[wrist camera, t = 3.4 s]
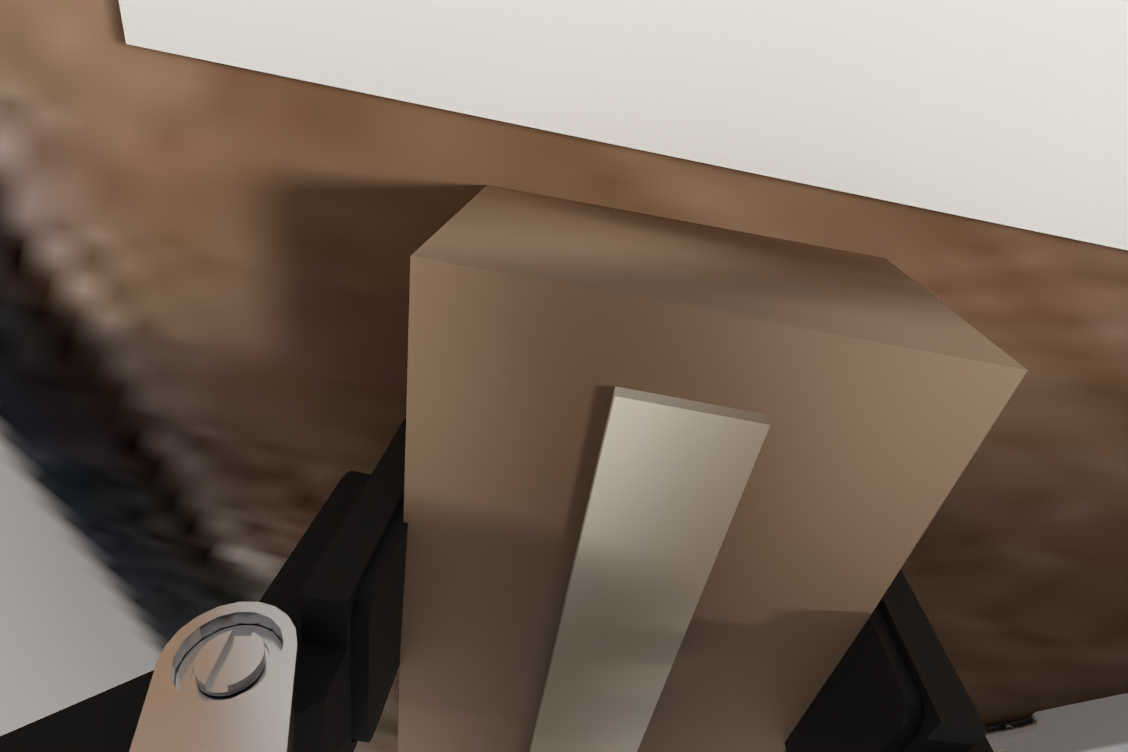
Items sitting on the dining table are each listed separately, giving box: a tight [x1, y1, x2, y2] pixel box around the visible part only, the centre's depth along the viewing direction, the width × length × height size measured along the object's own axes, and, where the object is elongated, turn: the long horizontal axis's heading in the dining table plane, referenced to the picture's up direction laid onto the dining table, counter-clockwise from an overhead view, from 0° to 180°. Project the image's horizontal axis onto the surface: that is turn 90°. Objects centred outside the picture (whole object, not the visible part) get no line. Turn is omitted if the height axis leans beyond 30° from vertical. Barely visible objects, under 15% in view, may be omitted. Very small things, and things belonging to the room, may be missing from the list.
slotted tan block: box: [397, 185, 1028, 752], centre depth 9 cm, size 6×10×4 cm, turn 171°
